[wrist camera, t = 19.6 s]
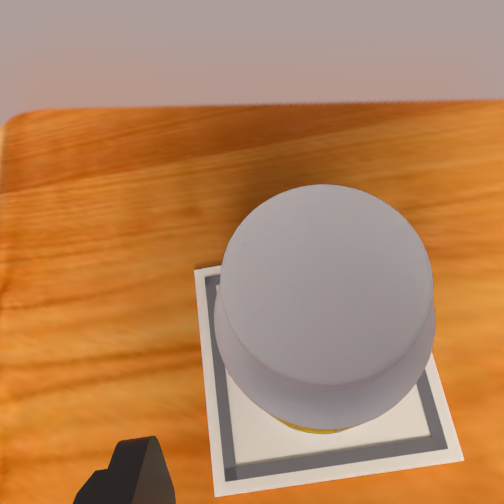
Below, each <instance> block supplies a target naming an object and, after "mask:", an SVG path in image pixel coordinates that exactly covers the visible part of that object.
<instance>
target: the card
mask: <svg viewBox="0 0 504 504" xmlns="http://www.w3.org/2000/svg"><path fill="white" fill-rule="evenodd" d="M221 266H222V265H220V266H214V267H209V268H203V269H197V270H194V275H195V286H196V297H197V308H198V319H199V330H200V341H201V351H202V362H203V373H204V384H205V395H206V406H207V417H208V428H209V439H210V450H211V461H212V472H213V482H214V493H215V497H220V496H227V495H234V494H241V493H248V492H254V491H261V490H268V489H275V488H282V487H288V486H295V485H302V484H309V483H316V482H323V481H329V480H336V479H343V478H350V477H357V476H363V475H370V474H377V473H384V472H391V471H397V470H404V469H411V468H418V467H425V466H432V465H438V464H445V463H452V462H459V461H464V458H463V454H462V451H461V448H460V444H459V441H458V438H457V434H456V431H455V428H454V424H453V421H452V418H451V414H450V411H449V408H448V404H447V401H446V398H445V394H444V391H443V388H442V384H441V381H440V378H439V374H438V371H437V368H436V364H435V361H434V358H433V354H432V351H431V354H430V357H429V360H428V362H427V365H426V367H425V369H424V371H423V373H422V375H421V377H420V378H419V379H418V381H417V382H416V384H415V385H414V387H413V388H412V389H411V391H410V392H409V393H408V394H407V395H406V396H405V397H404V398H403V399H402V400H401V401H400V402H399V403H398V404H397V405H395V406H394V407H393V408H392V409H390V410H389V411H387V412H386V413H384V414H383V415H381V416H379V417H378V418H376V419H374V420H371V421H369V422H366V423H364V424H361V425H359V426H356V427H353V428H350V429H348V430H345V431H341V432H338V433H332V434H312V433H306V432H302V431H298V430H295V429H292V428H290V427H288V426H287V425H285V424H283V423H281V422H280V421H278V420H277V419H275V418H274V417H272V416H271V415H269V414H268V413H267V412H265V411H264V410H262V409H261V408H260V407H258V406H257V405H256V404H255V403H253V402H252V401H251V400H250V399H249V398H248V397H247V396H246V395H245V394H244V393H243V392H242V391H241V389H240V388H239V387H238V386H237V385H236V383H235V382H234V380H233V379H232V377H231V376H230V375H229V373H228V371H227V369H226V367H225V365H224V362H223V360H222V357H221V355H220V352H219V349H218V345H217V341H216V336H215V329H214V307H215V300H216V294H217V291H218V287H219V284H220V274H221Z"/></svg>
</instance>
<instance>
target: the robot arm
mask: <svg viewBox="0 0 504 504" xmlns="http://www.w3.org/2000/svg"><path fill="white" fill-rule="evenodd" d="M73 504H176V500H175V492H174V487H173V484H172V481H171V478H170V475H169V472H168V469H167V466H166V463H165V460H164V456H163V453H162V450H161V447H160V444H159V441H158V439H157V438H156V437H155V436H149V437H143V438H136V439H129V440H122V441H119V442H118V444H117V445H116V447H115V450H114V453H113V456H112V458H111V461H110V464H109V467H108V469H104V470H97V471H95V472H94V473H93V474H92V476H91V477H90V478H89V479H88V481H87V482H86V483H85V484H84V485H83V487H82V488H81V489H80V490H79V492H78V493H77V495H76V497H75V499H74V502H73Z"/></svg>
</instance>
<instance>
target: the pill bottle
mask: <svg viewBox="0 0 504 504" xmlns="http://www.w3.org/2000/svg"><path fill="white" fill-rule="evenodd" d="M214 329H215V336H216V341H217V345H218V349H219V352H220V355H221V357H222V360H223V362H224V365H225V367H226V369H227V371H228V373H229V375H230V376H231V377H232V379H233V380H234V382H235V383H236V385H237V386H238V387H239V388H240V389H241V391H242V392H243V393H244V394H245V395H246V396H247V397H248V398H249V399H250V400H251V401H252V402H253V403H255V404H256V405H257V406H258V407H260V408H261V409H262V410H264V411H265V412H267V413H268V414H269V415H271V416H272V417H274V418H275V419H277V420H278V421H280V422H281V423H283V424H285V425H287V426H288V427H290V428H292V429H295V430H298V431H302V432H306V433H312V434H332V433H338V432H341V431H345V430H348V429H350V428H353V427H356V426H359V425H361V424H364V423H366V422H369V421H371V420H374V419H376V418H378V417H379V416H381V415H383V414H384V413H386V412H387V411H389V410H390V409H392V408H393V407H394V406H395V405H397V404H398V403H399V402H400V401H401V400H402V399H403V398H404V397H405V396H406V395H407V394H408V393H409V392H410V391H411V389H412V388H413V387H414V385H415V384H416V382H417V381H418V379H419V378H420V377H421V375H422V373H423V371H424V369H425V367H426V365H427V362H428V360H429V357H430V354H431V351H432V348H433V342H434V335H435V311H434V304H433V275H432V268H431V264H430V260H429V257H428V255H427V252H426V249H425V247H424V245H423V243H422V241H421V239H420V237H419V235H418V234H417V233H416V231H415V230H414V228H413V227H412V226H411V225H410V223H409V222H408V221H407V220H406V219H405V218H404V217H403V216H402V215H401V214H400V213H399V212H398V211H397V210H395V209H394V208H393V207H391V206H390V205H389V204H387V203H386V202H384V201H383V200H381V199H379V198H377V197H375V196H373V195H371V194H369V193H367V192H364V191H361V190H358V189H354V188H350V187H345V186H340V185H329V184H318V185H308V186H302V187H298V188H294V189H291V190H288V191H285V192H283V193H280V194H278V195H276V196H274V197H272V198H270V199H268V200H267V201H265V202H264V203H262V204H261V205H259V206H258V207H257V208H255V209H254V210H253V211H252V212H251V213H250V214H249V215H248V216H247V217H246V218H245V219H244V220H243V221H242V223H241V224H240V225H239V226H238V227H237V229H236V231H235V232H234V234H233V236H232V237H231V239H230V241H229V243H228V245H227V248H226V251H225V254H224V257H223V261H222V266H221V274H220V284H219V287H218V291H217V294H216V300H215V307H214Z"/></svg>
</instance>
